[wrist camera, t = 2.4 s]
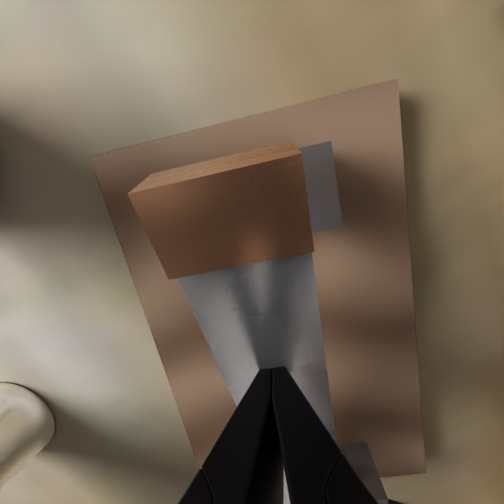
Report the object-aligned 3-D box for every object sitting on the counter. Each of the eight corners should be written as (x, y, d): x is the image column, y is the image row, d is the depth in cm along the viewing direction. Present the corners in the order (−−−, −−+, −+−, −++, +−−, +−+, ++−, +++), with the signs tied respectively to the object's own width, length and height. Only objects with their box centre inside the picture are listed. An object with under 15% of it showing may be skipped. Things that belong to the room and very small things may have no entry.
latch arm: (343, 481, 16) (353, 521, 14) (280, 487, 16) (282, 527, 15) (302, 134, 6) (319, 149, 4) (144, 173, 6) (112, 197, 5)
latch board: (413, 449, 18) (459, 535, 14) (212, 470, 19) (197, 554, 15) (382, 90, 12) (444, 42, 8) (107, 158, 14) (36, 150, 10)
